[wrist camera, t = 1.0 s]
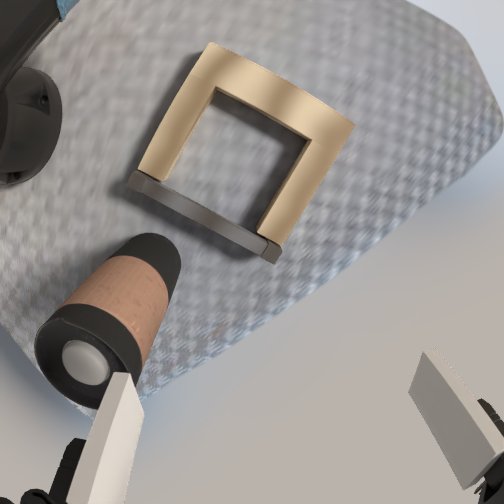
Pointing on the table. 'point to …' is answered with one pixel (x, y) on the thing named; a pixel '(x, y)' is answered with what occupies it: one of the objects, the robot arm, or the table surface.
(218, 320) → the table surface
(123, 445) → the robot arm
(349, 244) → the table surface
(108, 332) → the travel mug
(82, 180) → the table surface
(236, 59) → the wooden arch frame
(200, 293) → the table surface
